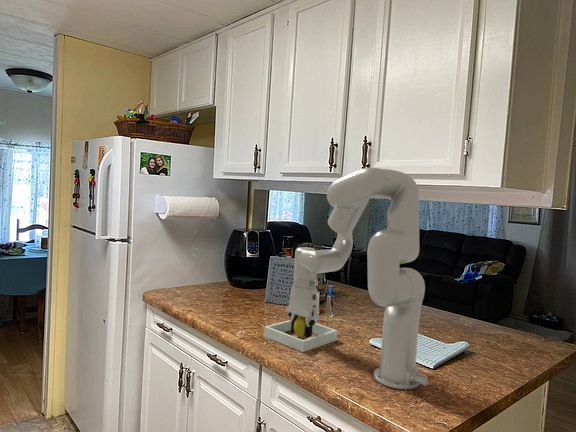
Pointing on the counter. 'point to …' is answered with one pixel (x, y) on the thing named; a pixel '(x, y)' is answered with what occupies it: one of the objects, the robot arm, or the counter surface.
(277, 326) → the pale green square frame
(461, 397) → the counter surface
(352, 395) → the counter surface
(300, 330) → the lemon
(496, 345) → the counter surface
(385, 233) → the robot arm
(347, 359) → the counter surface
